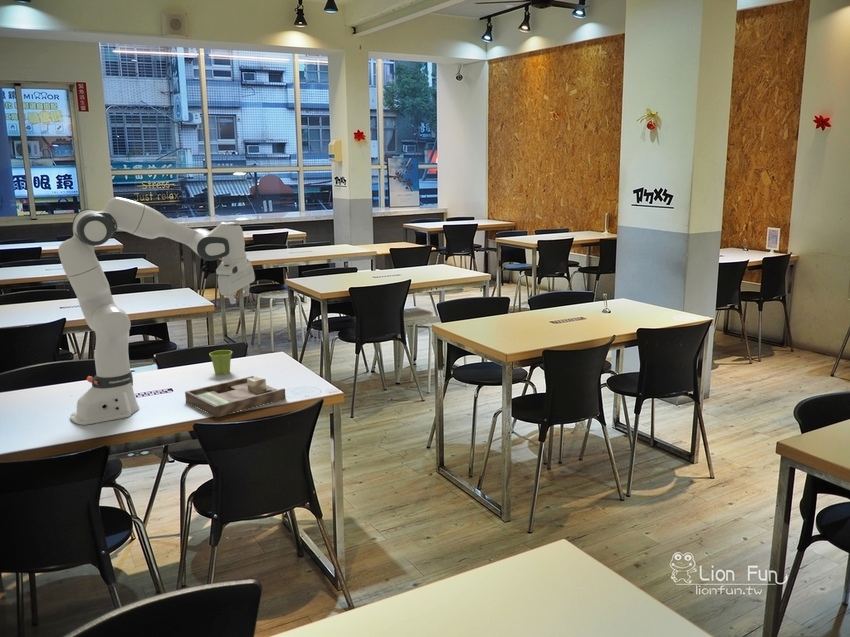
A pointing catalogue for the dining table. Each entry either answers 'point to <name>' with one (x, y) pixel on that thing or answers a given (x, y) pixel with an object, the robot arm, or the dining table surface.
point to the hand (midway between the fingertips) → (239, 299)
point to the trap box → (231, 397)
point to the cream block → (256, 383)
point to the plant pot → (221, 361)
